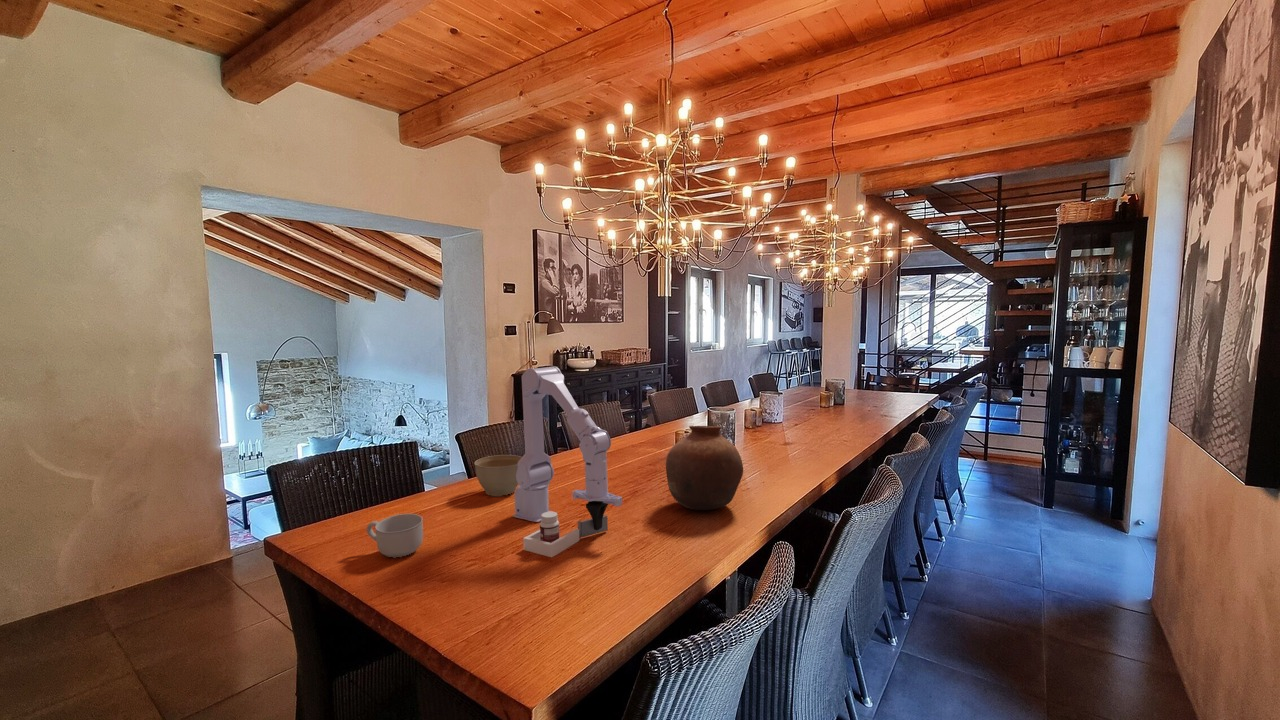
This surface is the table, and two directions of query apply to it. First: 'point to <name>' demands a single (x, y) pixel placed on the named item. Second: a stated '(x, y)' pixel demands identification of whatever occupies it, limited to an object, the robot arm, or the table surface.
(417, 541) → the teacup
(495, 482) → the planter bowl
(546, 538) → the pill bottle
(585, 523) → the channel cover
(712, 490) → the pottery
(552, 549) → the channel
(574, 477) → the table surface
